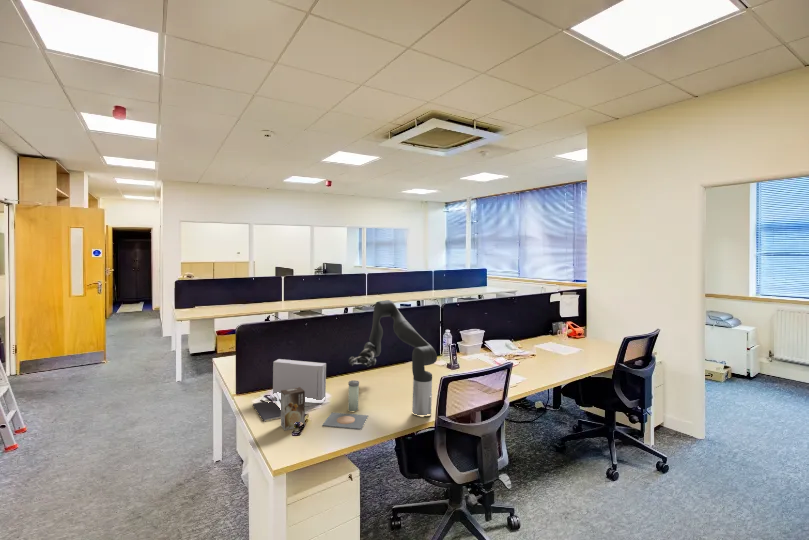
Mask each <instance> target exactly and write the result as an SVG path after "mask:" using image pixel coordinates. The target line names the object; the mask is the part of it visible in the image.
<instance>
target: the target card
mask: <svg viewBox="0 0 809 540" xmlns="http://www.w3.org/2000/svg"><path fill="white" fill-rule="evenodd" d="M367 417H369V415H366V414H357V413H356V414H354V413H345V412H334V411H333V412H331V413H330V414H329V415H328V417H327V418H326V420H324V422H323V423H322V425H321V426H322V427H328V428H339V429H349V430H350V429H351V430H360V429H361V430H362V429H363V427H364V426H365V424H364V423H366V422H367V420H368V418H367ZM366 419H367V420H366ZM365 421H366V422H365ZM363 425H364V426H363Z"/></svg>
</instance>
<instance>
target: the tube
mask: <svg viewBox="0 0 809 540" xmlns="http://www.w3.org/2000/svg"><path fill="white" fill-rule="evenodd" d="M347 383H348V384H347V385H348V401H347V402H348V404H347V405H348V406H347V411H348V410H349V411H348V412H350V411H356V410H359V386H360V381H359V380H349V381H348V382H347ZM356 412H357V411H356Z"/></svg>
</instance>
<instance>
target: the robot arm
mask: <svg viewBox="0 0 809 540" xmlns="http://www.w3.org/2000/svg"><path fill="white" fill-rule="evenodd" d="M373 307H374V308H373V312H372V313H373V315H372V325H371V327H372V328H371V331H370V335H369V338H368V339H369V341H367V342H366V343H365V344H364V346H363V350H361V352H360V353H359V354H358V356H350V357H349V358H348V364H349V366H350V367H353V366H354V365H362V366H366V368H369V367H370V366H375V365H376V363H377V358H378V357H379V356H380V354H381V352H382V343H381V342H382V338H383V335H384V330H383V326H382V325H381V322H380V321H381V319H382V318H387V317H390V318H391V319H392V320H393V327H392V328H393V332H394V333H395V335H396V336H397V338H399V340H400V341H402V342H403V343H405V344H407V345H409V346H411V347H413V350H412V354H411V363H412V364H411V366H412V368H411V369H412V372H411V373H412V376H413V377H412V407H411V408H412V410H411V412H413V413H414V414H417V415H427V414H431V415H432V407H433V406H432V401H433V394H432V392H433V391H432V390H433V374H432V372H430V371H428V370H426V369H425V366H426V367H427V366H431V365H433V364H435V363H436V362H437V360H438V354H437V352H436V350H435V348H434V347H433V346H432V344H430V343H429V342H427V340H426V339H424V338H423V337H422V336H421V335H420V333H418V332H417V330H416V329H415V328H414V327H413V325H412V324H410V322H409V321H408V320H407V319H406V317H404V315H403V314H402V312H400V310H399V309H398V307H397V305H396V304H395V303H394V302H393V300H389V299H386V300H380V301H377V302H375V304H374V306H373ZM376 357H377V358H376Z"/></svg>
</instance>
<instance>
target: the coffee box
mask: <svg viewBox="0 0 809 540" xmlns="http://www.w3.org/2000/svg"><path fill="white" fill-rule="evenodd" d="M280 401H281V418H280V426H281V428H282V429H283V430H284V431H288V430H289V431H290V430H293V429H295V428H294V423H295V422H302V423H303V424H304V426H303V427H305V426H306V424H305V421H306V419H305V416H306V415H305V413H306V411H305V407H306V405H305V404H306V403H305V391H304V390H303V389H302V388H301V387H298V388H292V389H286V390H281V400H280Z"/></svg>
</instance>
